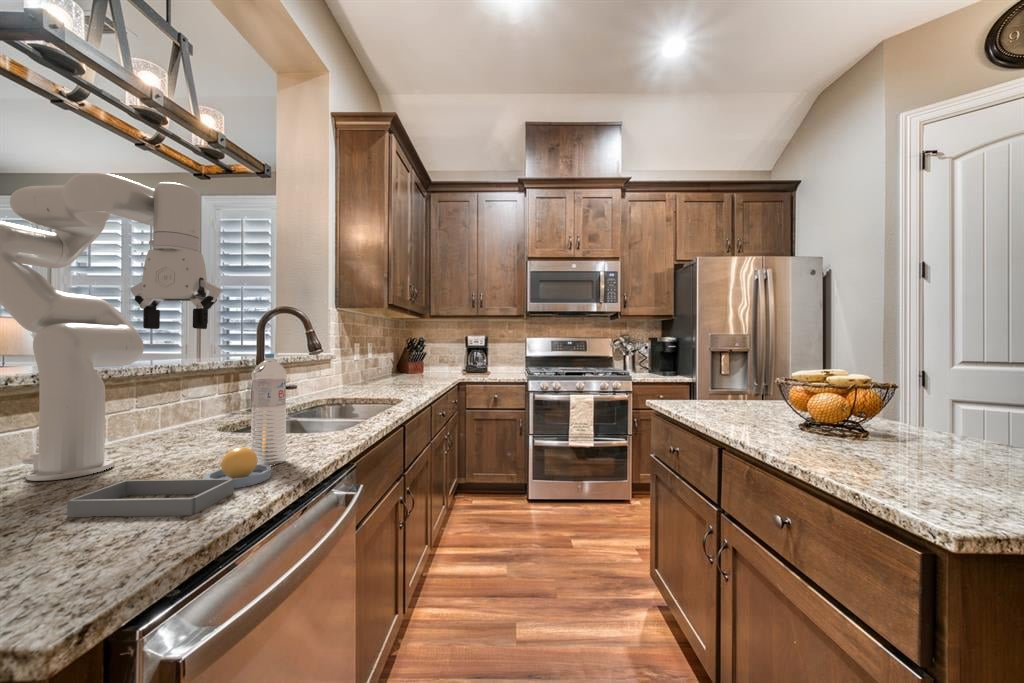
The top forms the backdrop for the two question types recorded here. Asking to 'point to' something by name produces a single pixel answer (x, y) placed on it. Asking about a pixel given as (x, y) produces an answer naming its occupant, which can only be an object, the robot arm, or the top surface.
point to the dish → (255, 477)
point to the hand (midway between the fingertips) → (175, 328)
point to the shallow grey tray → (110, 505)
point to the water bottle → (269, 412)
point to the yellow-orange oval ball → (239, 462)
